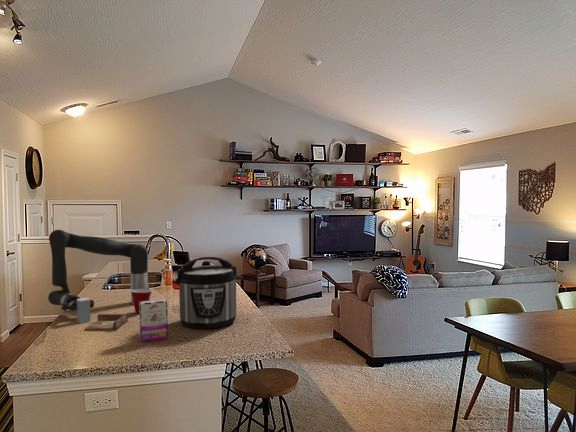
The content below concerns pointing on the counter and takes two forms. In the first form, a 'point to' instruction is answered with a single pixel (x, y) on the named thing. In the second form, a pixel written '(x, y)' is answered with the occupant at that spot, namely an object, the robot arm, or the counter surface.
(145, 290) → the plastic cup
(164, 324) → the candy bar box
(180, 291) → the pressure cooker
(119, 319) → the shallow wooden tray
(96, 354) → the counter surface
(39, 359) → the counter surface
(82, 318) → the block
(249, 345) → the counter surface
